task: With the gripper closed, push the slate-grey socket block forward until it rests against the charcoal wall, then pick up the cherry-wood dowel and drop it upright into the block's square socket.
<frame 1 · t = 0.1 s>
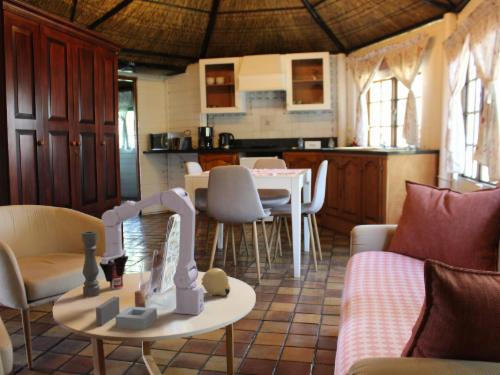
hand: (114, 278, 181), 10 cm above the table, fingers open, 7 cm apart
toy pig: (216, 295, 194), on the table
dowel: (140, 311, 175), on the table
charcoal wall: (108, 319, 167), on the table
soda can: (116, 287, 204), on the table
socket block: (136, 324, 164), on the table
candle holder: (91, 295, 194), on the table
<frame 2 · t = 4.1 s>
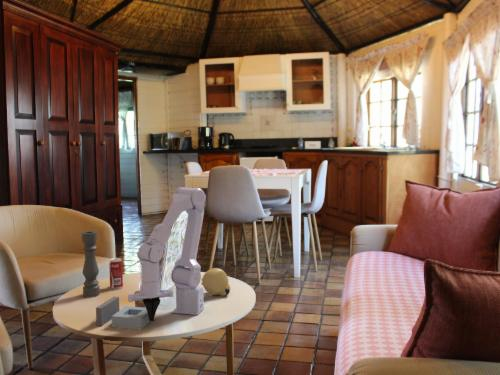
hand: (151, 320, 162), 1 cm above the table, fingers closed
socket block: (133, 323, 164), on the table
everything else where it was.
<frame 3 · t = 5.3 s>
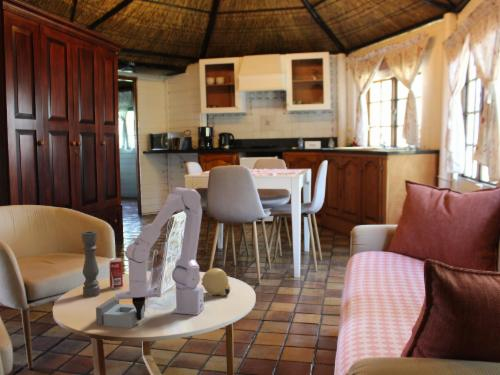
hand: (139, 319, 163), 1 cm above the table, fingers closed, pressing on socket block
socket block: (124, 321, 166), on the table, touching charcoal wall, gripper
everything else where it was.
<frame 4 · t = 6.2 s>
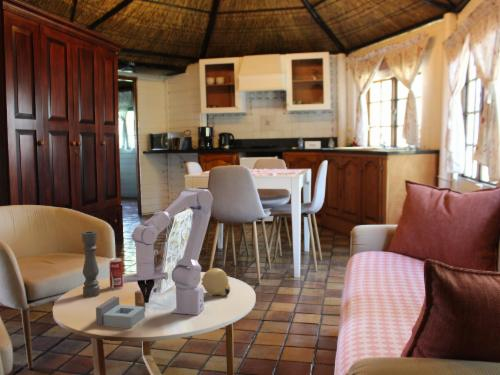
hand: (146, 302, 162), 7 cm above the table, fingers closed
socket block: (124, 322, 166), on the table
everything else where it was.
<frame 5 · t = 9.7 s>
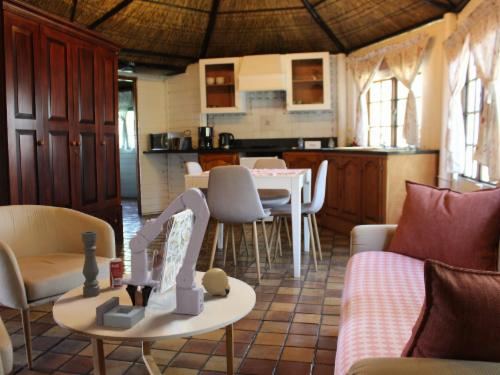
hand: (140, 305, 175), 2 cm above the table, fingers closed on dowel, 3 cm apart
dowel: (140, 311, 175), on the table, touching gripper
everything else where it was.
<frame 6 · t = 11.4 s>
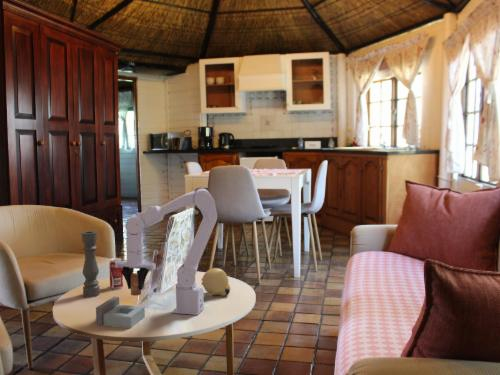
hand: (135, 288, 172), 9 cm above the table, fingers closed on dowel, 3 cm apart
dowel: (136, 293, 172), point 7 cm above the table, touching gripper
everything else where it was.
when the fingers open (5 cm above the table, at t = 13.5 s): dowel drops 2 cm, resting on socket block.
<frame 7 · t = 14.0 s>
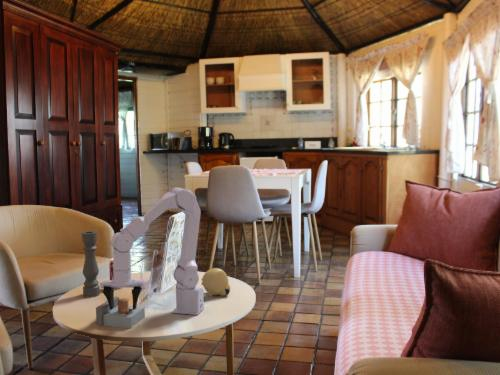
hand: (123, 308, 164), 5 cm above the table, fingers open, 7 cm apart
dowel: (123, 320, 165), resting on socket block
socket block: (124, 322, 166), on the table, touching dowel
everything else where it was.
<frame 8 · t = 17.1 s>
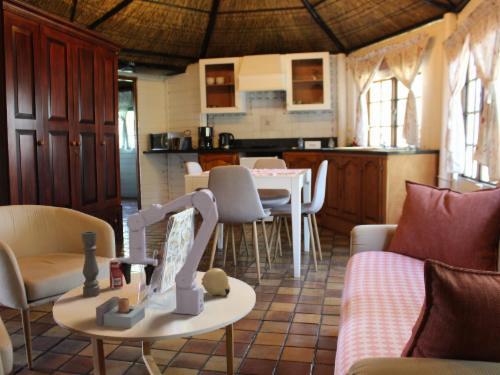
hand: (138, 284, 176), 9 cm above the table, fingers open, 7 cm apart
nothing on the table moved.
at the end: socket block 0.7 cm from the target spot, on the table; dowel 0.4 cm off-centre on the socket block, point 1.0 cm above the socket block's base; dowel tilted 0° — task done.
